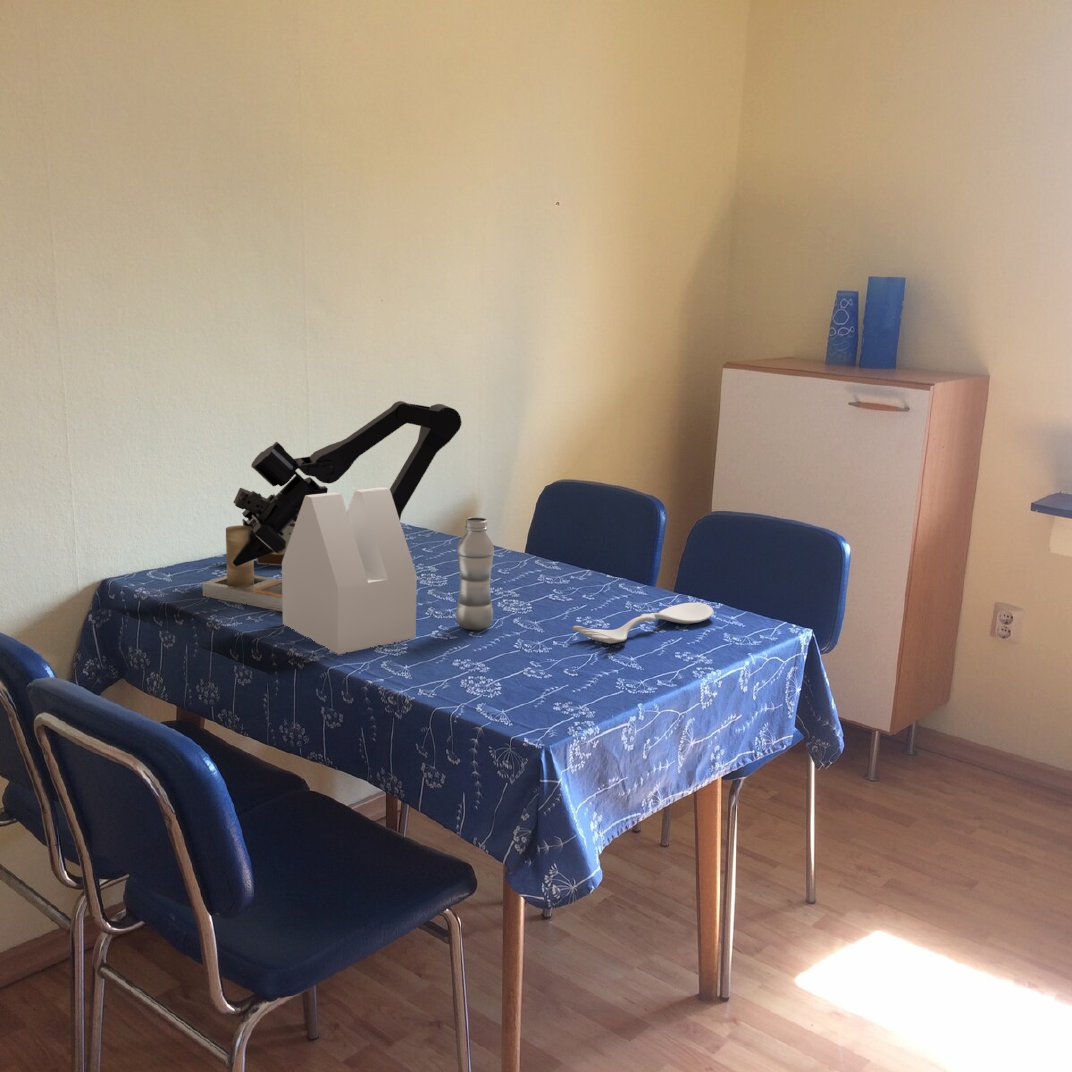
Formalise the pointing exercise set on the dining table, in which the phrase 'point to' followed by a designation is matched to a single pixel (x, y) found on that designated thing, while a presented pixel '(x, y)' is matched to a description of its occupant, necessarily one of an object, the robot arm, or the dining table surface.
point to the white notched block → (349, 573)
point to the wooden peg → (234, 544)
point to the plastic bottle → (475, 576)
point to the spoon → (675, 613)
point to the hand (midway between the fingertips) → (232, 561)
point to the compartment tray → (248, 592)
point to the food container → (274, 557)
